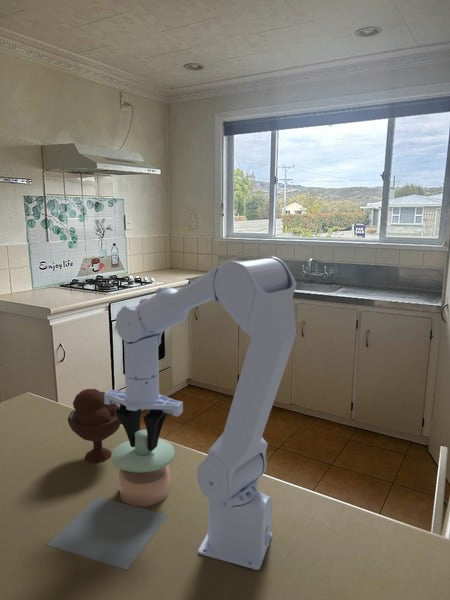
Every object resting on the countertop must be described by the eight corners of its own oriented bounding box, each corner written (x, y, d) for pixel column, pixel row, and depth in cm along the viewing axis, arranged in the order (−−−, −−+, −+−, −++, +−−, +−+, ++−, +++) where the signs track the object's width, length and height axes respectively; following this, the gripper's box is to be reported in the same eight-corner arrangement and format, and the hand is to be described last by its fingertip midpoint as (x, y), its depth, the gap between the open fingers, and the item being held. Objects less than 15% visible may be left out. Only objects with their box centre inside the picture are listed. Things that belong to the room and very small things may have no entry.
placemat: (168, 516, 75) (168, 514, 75) (127, 571, 64) (127, 570, 63) (97, 497, 80) (97, 496, 80) (47, 546, 68) (47, 545, 68)
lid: (184, 447, 84) (184, 426, 83) (156, 478, 73) (156, 453, 73) (132, 437, 87) (132, 416, 87) (99, 464, 77) (98, 441, 76)
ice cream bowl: (112, 474, 87) (108, 401, 84) (59, 467, 89) (55, 396, 86) (133, 446, 97) (131, 381, 94) (86, 441, 99) (82, 376, 97)
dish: (178, 482, 85) (178, 463, 84) (155, 511, 76) (154, 490, 75) (136, 473, 87) (135, 454, 87) (109, 500, 79) (108, 479, 78)
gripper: (92, 376, 76) (96, 449, 79) (169, 387, 71) (170, 465, 74) (115, 363, 83) (118, 431, 85) (187, 373, 78) (188, 445, 81)
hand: (143, 446), depth 80 cm, fingers closed on lid, 3 cm apart
